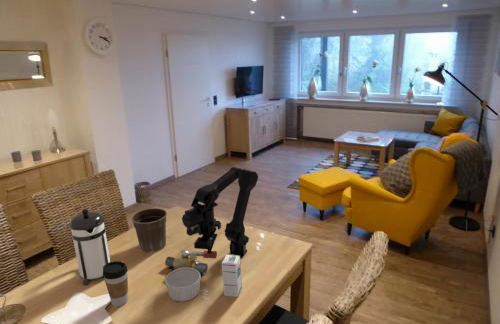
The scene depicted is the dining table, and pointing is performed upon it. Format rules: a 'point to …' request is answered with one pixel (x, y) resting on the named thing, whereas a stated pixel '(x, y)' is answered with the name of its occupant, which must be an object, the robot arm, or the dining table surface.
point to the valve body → (186, 263)
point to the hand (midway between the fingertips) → (209, 252)
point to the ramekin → (183, 284)
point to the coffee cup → (116, 282)
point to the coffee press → (90, 244)
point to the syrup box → (231, 275)
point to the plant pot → (150, 228)
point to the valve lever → (199, 253)
